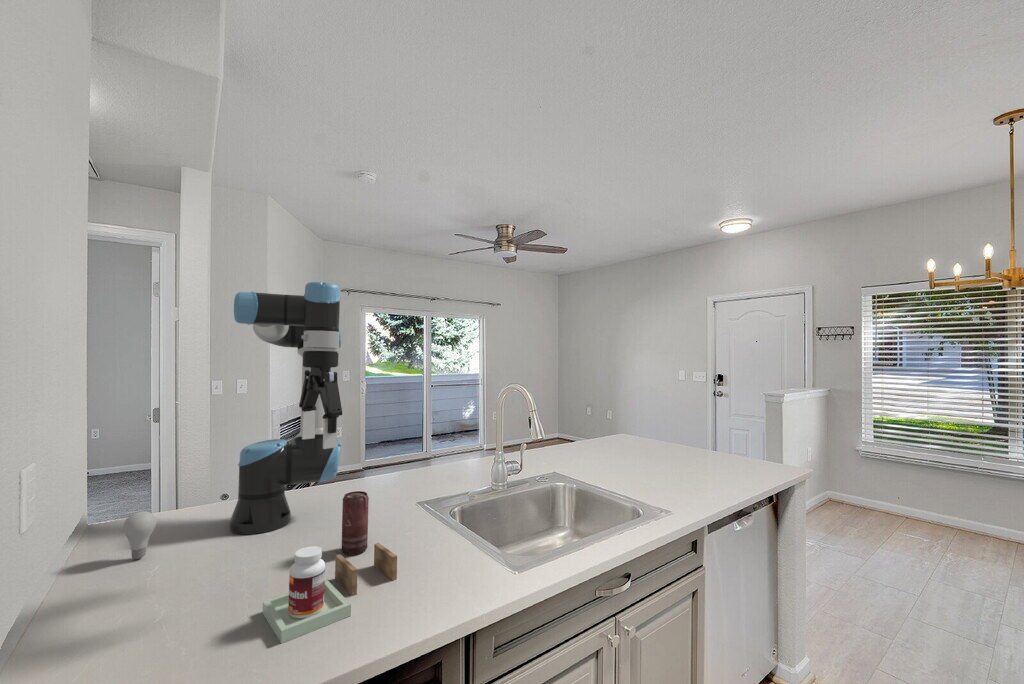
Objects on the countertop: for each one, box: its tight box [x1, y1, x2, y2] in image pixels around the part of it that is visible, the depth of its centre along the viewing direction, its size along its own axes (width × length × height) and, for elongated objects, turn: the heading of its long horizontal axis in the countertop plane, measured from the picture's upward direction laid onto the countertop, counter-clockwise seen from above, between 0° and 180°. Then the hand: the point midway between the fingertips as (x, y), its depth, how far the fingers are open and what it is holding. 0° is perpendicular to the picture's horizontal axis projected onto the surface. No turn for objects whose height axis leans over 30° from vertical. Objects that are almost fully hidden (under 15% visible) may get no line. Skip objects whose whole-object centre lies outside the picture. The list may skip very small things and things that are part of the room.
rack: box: [334, 542, 398, 596], centre depth 96 cm, size 9×10×5 cm
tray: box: [262, 579, 352, 644], centre depth 83 cm, size 12×12×2 cm
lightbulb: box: [122, 510, 157, 560], centre depth 104 cm, size 6×6×11 cm
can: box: [340, 490, 370, 557], centre depth 110 cm, size 6×6×14 cm
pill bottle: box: [288, 545, 326, 619], centre depth 83 cm, size 6×6×11 cm
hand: (318, 443), depth 100 cm, fingers open, 13 cm apart
